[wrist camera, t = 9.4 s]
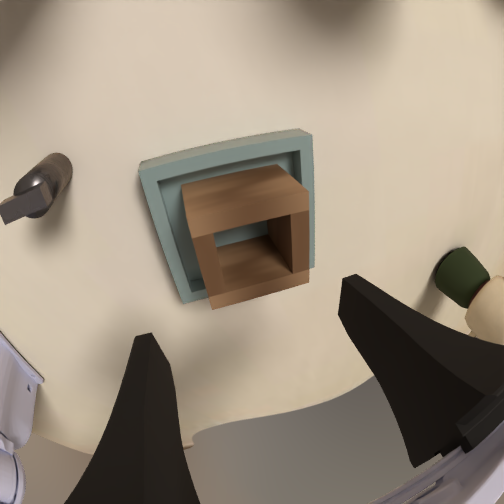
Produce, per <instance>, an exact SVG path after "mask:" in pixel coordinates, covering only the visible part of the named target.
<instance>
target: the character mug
mask: <svg viewBox="0 0 504 504" xmlns="http://www.w3.org/2000/svg"><path fill="white" fill-rule="evenodd" d="M435 283H436V286H437V288H438V289H439V290H441V291H442V292H443V293H444V294H445V295H447V296H448V297H449V298H450V299H452V300H453V301H454V302H456V303H457V304H458V305H459V306H461V307H463V308H467V309H468V310H467V312H466V315H465V320H466V322H467V325H468V327H469V328H470V329H471V330H472V331H471V332H470V333H469V336H472V337H476V336H477V337H478V338H479V339H481V340H484V341H488V342H492V343H496V344H501V345H504V277H501V276H496V277H493V278H492V279H491V280H490V276H489V273H488V272H487V270H486V269H485V268H484V267H483V265H482V264H481V263H480V262H479V261H478V259H477V258H476V257H475V256H474V255H473V254H472V253H471V252H470V251H469V250H468V249H467V248H466V247H461V248H458V249H456V250H455V251H454V252H452V253H451V254H449V255H448V257H447V258H446V259H445V260H444V261H443V262H442V263H441V265H440V267H439V269H438V271H437V273H436V278H435Z"/></svg>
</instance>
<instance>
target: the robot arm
mask: <svg viewBox="0 0 504 504" xmlns="http://www.w3.org/2000/svg"><path fill="white" fill-rule="evenodd" d="M338 316H339V318H340V320H341V322H342V324H343V326H344V328H345V330H346V332H347V334H348V336H349V337H350V339H351V340H352V342H353V343H354V345H355V346H356V348H357V349H358V351H359V353H360V354H361V356H362V357H363V359H364V360H365V362H366V363H367V365H368V366H369V368H370V369H371V371H372V372H373V374H374V375H375V377H376V378H377V380H378V382H379V383H380V385H381V387H382V389H383V391H384V393H385V395H386V397H387V400H388V402H389V404H390V406H391V408H392V411H393V413H394V415H395V418H396V420H397V423H398V425H399V428H400V431H401V433H402V436H403V439H404V442H405V445H406V448H407V452H408V455H409V459H410V462H411V464H412V465H413V467H414V468H416V467H418V466H419V465H421V464H423V463H425V462H426V461H428V460H429V459H431V458H433V457H434V456H436V455H437V454H439V453H441V455H442V456H443V458H442V459H441V460H439V461H438V462H436V463H435V464H433V465H432V466H430V467H429V468H428V469H426V470H425V471H423V472H422V473H420V474H418V475H417V476H416V477H414V478H412V479H411V480H409V481H407V482H406V483H404V484H402V485H401V486H399V487H397V488H396V489H394V490H392V491H390V492H388V493H387V494H385V495H383V496H381V497H379V498H377V499H376V500H373V501H371V502H370V503H367V504H401V503H403V502H405V501H406V500H408V499H410V498H411V497H413V496H414V497H413V498H412V499H410V500H409V501H408V502H406V503H405V504H495V502H496V501H497V500H498V498H499V497H500V496H501V495H502V493H503V492H504V345H501V344H496V343H492V342H488V341H484V340H481V339H478V338H475V337H472V336H469V335H466V334H463V333H461V332H458V331H456V330H453V329H451V328H448V327H446V326H444V325H442V324H440V323H438V322H436V321H434V320H432V319H430V318H428V317H426V316H424V315H422V314H420V313H419V312H417V311H415V310H413V309H411V308H410V307H408V306H406V305H405V304H403V303H401V302H400V301H398V300H397V299H395V298H393V297H392V296H390V295H389V294H387V293H386V292H384V291H382V290H381V289H379V288H378V287H376V286H375V285H373V284H372V283H370V282H368V281H367V280H365V279H364V278H362V277H361V276H359V275H357V274H354V275H351V276H348V277H345V278H343V279H342V287H341V295H340V303H339V310H338ZM43 381H44V380H43V378H42V377H41V376H40V375H39V374H38V373H37V372H36V371H35V370H34V369H33V368H32V367H31V366H30V365H29V364H28V363H27V362H26V361H25V360H24V359H23V358H22V357H21V355H20V354H19V353H18V352H17V351H16V350H15V349H14V348H13V347H12V345H11V344H10V343H9V342H8V341H7V340H6V338H5V337H4V336H3V335H2V334H1V332H0V504H22V500H23V498H24V495H25V489H26V478H25V471H24V468H23V465H22V463H21V460H20V458H19V457H18V455H17V454H16V453H15V452H14V450H16V449H19V448H21V447H23V446H24V445H25V444H26V443H27V441H28V439H29V437H30V435H31V432H32V426H33V416H34V407H35V400H36V393H37V386H38V384H42V383H43ZM435 481H436V484H435V485H434V486H432V487H430V488H428V489H426V490H424V489H425V488H427V487H428V486H429V485H431V484H433V483H434V482H435ZM422 490H424V491H422ZM421 491H422V492H421ZM419 492H421V493H419ZM418 493H419V494H418ZM416 494H417V495H416ZM415 495H416V496H415ZM64 504H200V502H199V499H198V496H197V494H196V491H195V488H194V485H193V482H192V479H191V475H190V472H189V469H188V466H187V462H186V458H185V455H184V451H183V446H182V441H181V434H180V426H179V418H178V410H177V401H176V392H175V386H174V381H173V376H172V371H171V367H170V363H169V362H168V360H167V358H166V357H165V355H164V353H163V352H162V350H161V348H160V346H159V345H158V343H157V341H156V339H155V338H154V336H153V334H152V333H147V334H143V335H139V336H136V337H135V339H134V342H133V346H132V349H131V353H130V357H129V360H128V364H127V367H126V371H125V374H124V377H123V380H122V384H121V387H120V390H119V393H118V396H117V399H116V402H115V405H114V407H113V410H112V413H111V416H110V419H109V421H108V424H107V426H106V429H105V431H104V433H103V436H102V438H101V440H100V442H99V445H98V447H97V449H96V451H95V453H94V455H93V457H92V459H91V461H90V463H89V465H88V467H87V468H86V470H85V472H84V473H83V475H82V477H81V479H80V480H79V482H78V484H77V485H76V487H75V489H74V490H73V492H72V493H71V494H70V496H69V497H68V499H67V500H66V502H65V503H64Z"/></svg>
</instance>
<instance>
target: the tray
mask: <svg viewBox="0 0 504 504" xmlns="http://www.w3.org/2000/svg"><path fill="white" fill-rule="evenodd" d="M273 164H278V165H279V166H280V167H281V168H283V169H284V170H285V171H286V172H287V173H288V174H290V175H291V176H292V177H293V178H294V179H295V180H296V181H298V182H299V183H300V184H301V185H302V186H303V187H304V188H306V189H307V190H308V191H309V229H310V250H309V269H310V268H313V267H314V261H315V201H314V163H313V140H312V134H310V133H308V132H305V131H303V130H301V129H292V130H285V131H278V132H272V133H265V134H260V135H254V136H248V137H243V138H237V139H232V140H227V141H222V142H218V143H213V144H208V145H204V146H200V147H195V148H191V149H187V150H183V151H179V152H175V153H171V154H167V155H163V156H160V157H156V158H153V159H149V160H145V161H142V162H141V163H140V167H139V171H138V172H139V176H140V179H141V182H142V186H143V189H144V192H145V196H146V199H147V202H148V205H149V209H150V212H151V215H152V218H153V221H154V224H155V227H156V230H157V233H158V236H159V239H160V242H161V245H162V248H163V251H164V254H165V256H166V259H167V262H168V265H169V268H170V270H171V273H172V276H173V278H174V281H175V284H176V286H177V289H178V292H179V294H180V297H181V299H182V302H183V304H185V303H189V302H193V301H196V300H200V299H204V298H208V294H207V290H206V287H205V284H204V280H203V277H202V273H201V270H200V266H199V263H198V259H197V255H196V252H195V248H194V244H193V241H192V237H191V233H190V229H189V226H188V222H187V217H186V211H185V206H184V200H183V194H182V188H181V185H182V184H186V183H190V182H194V181H198V180H202V179H206V178H211V177H215V176H219V175H224V174H229V173H233V172H238V171H243V170H248V169H252V168H258V167H263V166H268V165H273ZM267 234H268V228H267V220H264V221H260V222H256V223H252V224H247V225H243V226H239V227H235V228H231V229H227V230H223V231H219V232H215V233H213V235H214V240H215V244H216V247H219V246H223V245H227V244H231V243H235V242H239V241H243V240H247V239H251V238H255V237H259V236H263V235H267Z"/></svg>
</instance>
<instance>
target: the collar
mask: <svg viewBox="0 0 504 504" xmlns="http://www.w3.org/2000/svg"><path fill="white" fill-rule="evenodd" d="M181 188H182V194H183V200H184V206H185V211H186V217H187V222H188V226H189V229H190V233H191V237H192V241H193V244H194V248H195V252H196V255H197V259H198V263H199V266H200V270H201V273H202V277H203V280H204V284H205V287H206V290H207V294H208V297H209V301H210V304H211V307H212V310H214V309H217V308H221V307H225V306H229V305H232V304H236V303H240V302H243V301H247V300H250V299H254V298H257V297H261V296H264V295H268V294H271V293H275V292H278V291H282V290H285V289H289V288H292V287H295V286H299V285H302V284H305V283H309V250H310V229H309V191H308V190H307V189H306V188H304V187H303V186H302V185H301V184H300V183H299V182H298V181H296V180H295V179H294V178H293V177H292V176H291V175H290V174H288V173H287V172H286V171H285V170H284V169H283V168H281V167H280V166H279V165H278V164H273V165H268V166H263V167H258V168H252V169H248V170H243V171H238V172H233V173H229V174H224V175H219V176H215V177H211V178H206V179H202V180H198V181H194V182H190V183H186V184H182V185H181ZM264 220H267V228H268V234H267V235H263V236H259V237H255V238H251V239H247V240H243V241H239V242H235V243H231V244H227V245H223V246H219V247H216V244H215V240H214V235H213V233H215V232H219V231H223V230H227V229H231V228H235V227H239V226H243V225H247V224H252V223H256V222H260V221H264Z"/></svg>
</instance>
